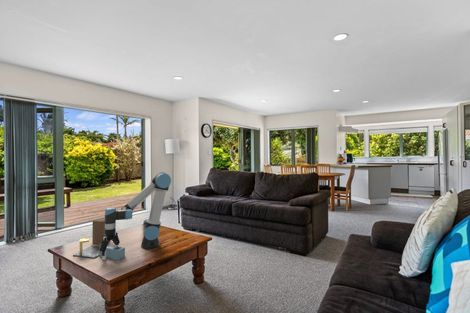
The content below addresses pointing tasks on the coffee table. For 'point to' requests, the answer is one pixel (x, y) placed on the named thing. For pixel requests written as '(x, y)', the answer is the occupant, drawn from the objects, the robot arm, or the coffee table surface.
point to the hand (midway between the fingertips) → (110, 256)
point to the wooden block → (98, 231)
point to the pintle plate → (88, 250)
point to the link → (114, 252)
